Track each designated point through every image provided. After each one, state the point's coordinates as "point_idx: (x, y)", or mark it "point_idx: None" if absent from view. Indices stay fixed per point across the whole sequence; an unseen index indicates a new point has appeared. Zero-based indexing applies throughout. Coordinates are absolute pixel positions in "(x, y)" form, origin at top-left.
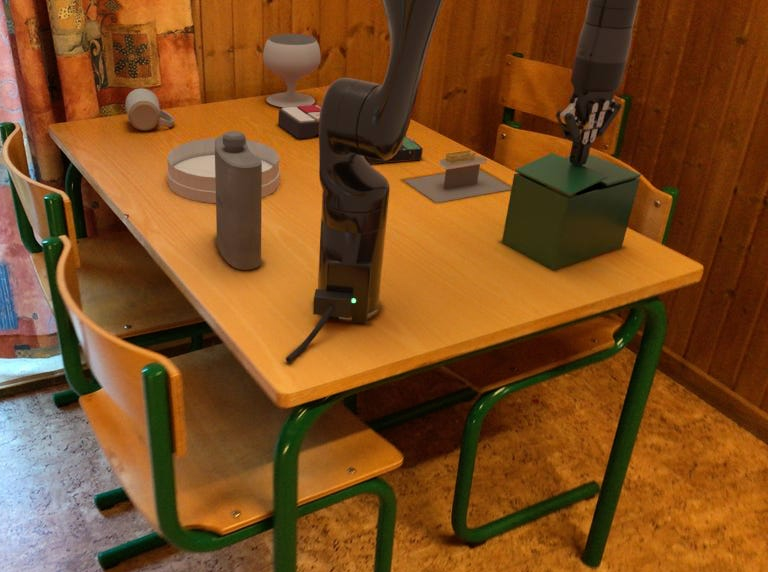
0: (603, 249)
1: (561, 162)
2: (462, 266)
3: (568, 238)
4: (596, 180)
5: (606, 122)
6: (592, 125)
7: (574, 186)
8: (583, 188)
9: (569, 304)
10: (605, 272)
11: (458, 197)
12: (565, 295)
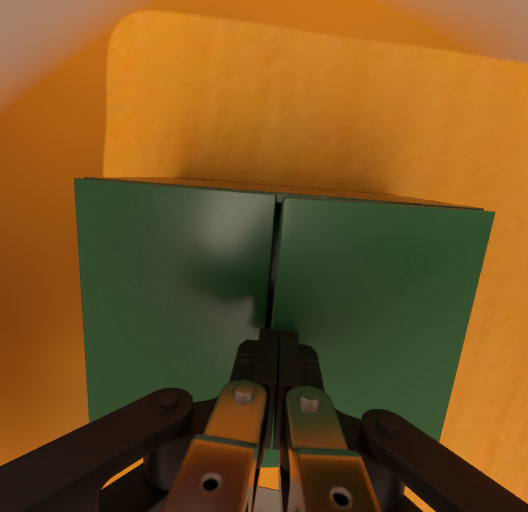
0: (236, 182)
1: None
2: (519, 309)
3: (382, 195)
4: (345, 206)
5: (101, 457)
6: (311, 472)
7: (435, 239)
8: (422, 206)
9: (499, 69)
10: (305, 122)
11: (272, 494)
12: (469, 102)
